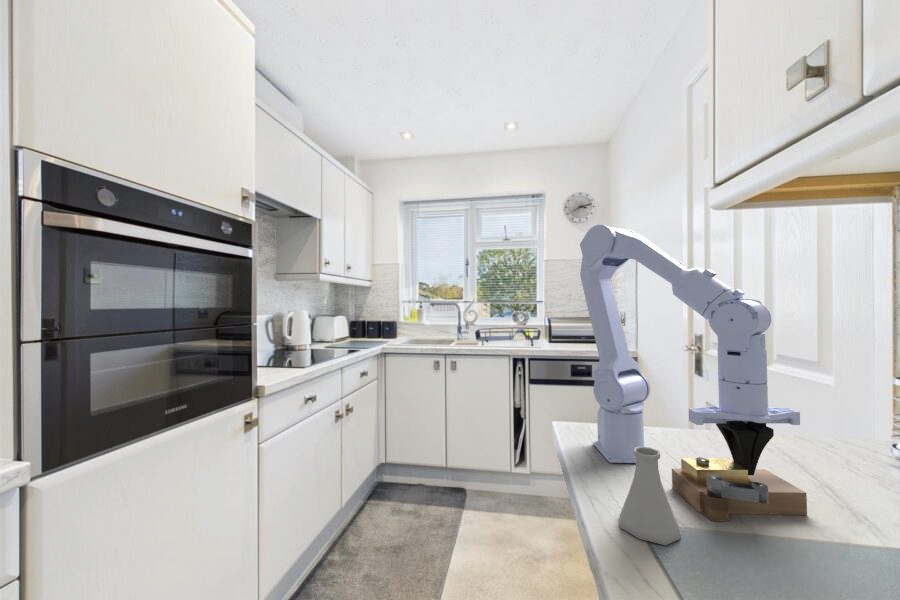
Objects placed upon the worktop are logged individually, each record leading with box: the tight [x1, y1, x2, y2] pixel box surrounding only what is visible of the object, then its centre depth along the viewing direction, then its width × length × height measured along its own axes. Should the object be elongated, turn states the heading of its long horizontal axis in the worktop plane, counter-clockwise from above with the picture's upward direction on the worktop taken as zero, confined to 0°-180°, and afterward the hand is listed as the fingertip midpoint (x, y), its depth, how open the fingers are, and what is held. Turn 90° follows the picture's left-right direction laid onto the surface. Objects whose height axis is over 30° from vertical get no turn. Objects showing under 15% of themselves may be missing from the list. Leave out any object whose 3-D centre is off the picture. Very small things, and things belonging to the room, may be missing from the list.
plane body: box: [671, 468, 808, 522], centre depth 53 cm, size 9×14×3 cm, turn 86°
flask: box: [618, 446, 682, 546], centre depth 48 cm, size 7×7×10 cm
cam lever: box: [706, 475, 769, 504], centre depth 49 cm, size 7×2×2 cm, turn 70°
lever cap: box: [680, 456, 748, 484], centre depth 54 cm, size 4×7×3 cm, turn 87°
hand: (744, 472), depth 54 cm, fingers closed
